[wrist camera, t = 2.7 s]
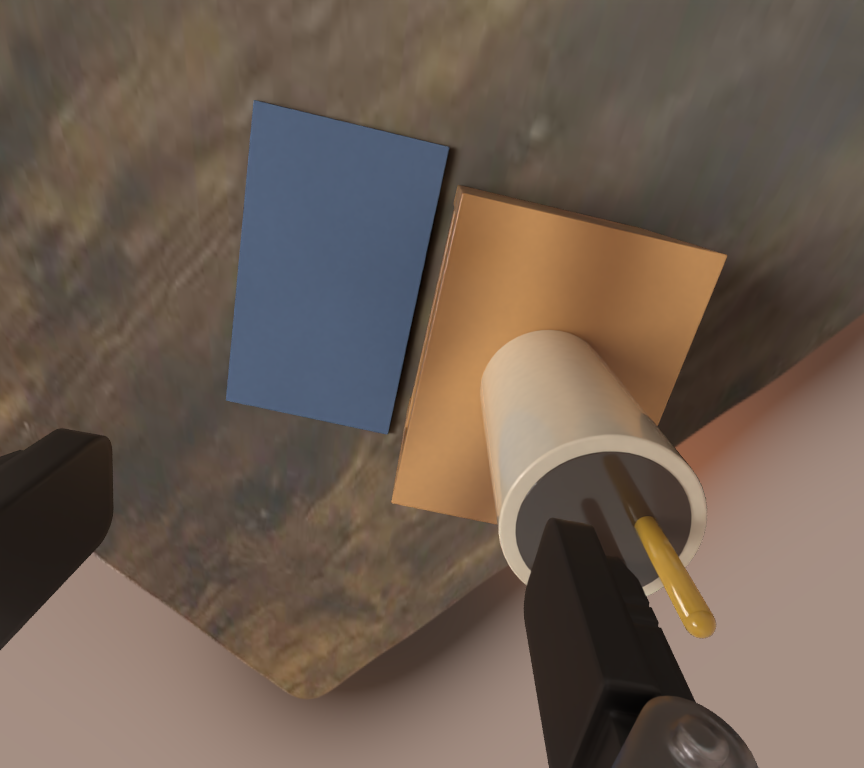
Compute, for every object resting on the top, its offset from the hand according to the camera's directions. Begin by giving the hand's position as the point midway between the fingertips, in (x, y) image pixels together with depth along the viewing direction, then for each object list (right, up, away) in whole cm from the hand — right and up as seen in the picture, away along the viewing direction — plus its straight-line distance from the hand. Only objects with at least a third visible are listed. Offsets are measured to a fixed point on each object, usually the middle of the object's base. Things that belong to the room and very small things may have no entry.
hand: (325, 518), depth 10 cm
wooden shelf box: (+8, +6, +28) cm, 30 cm away
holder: (+7, +2, +17) cm, 18 cm away
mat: (-5, +9, +27) cm, 29 cm away
